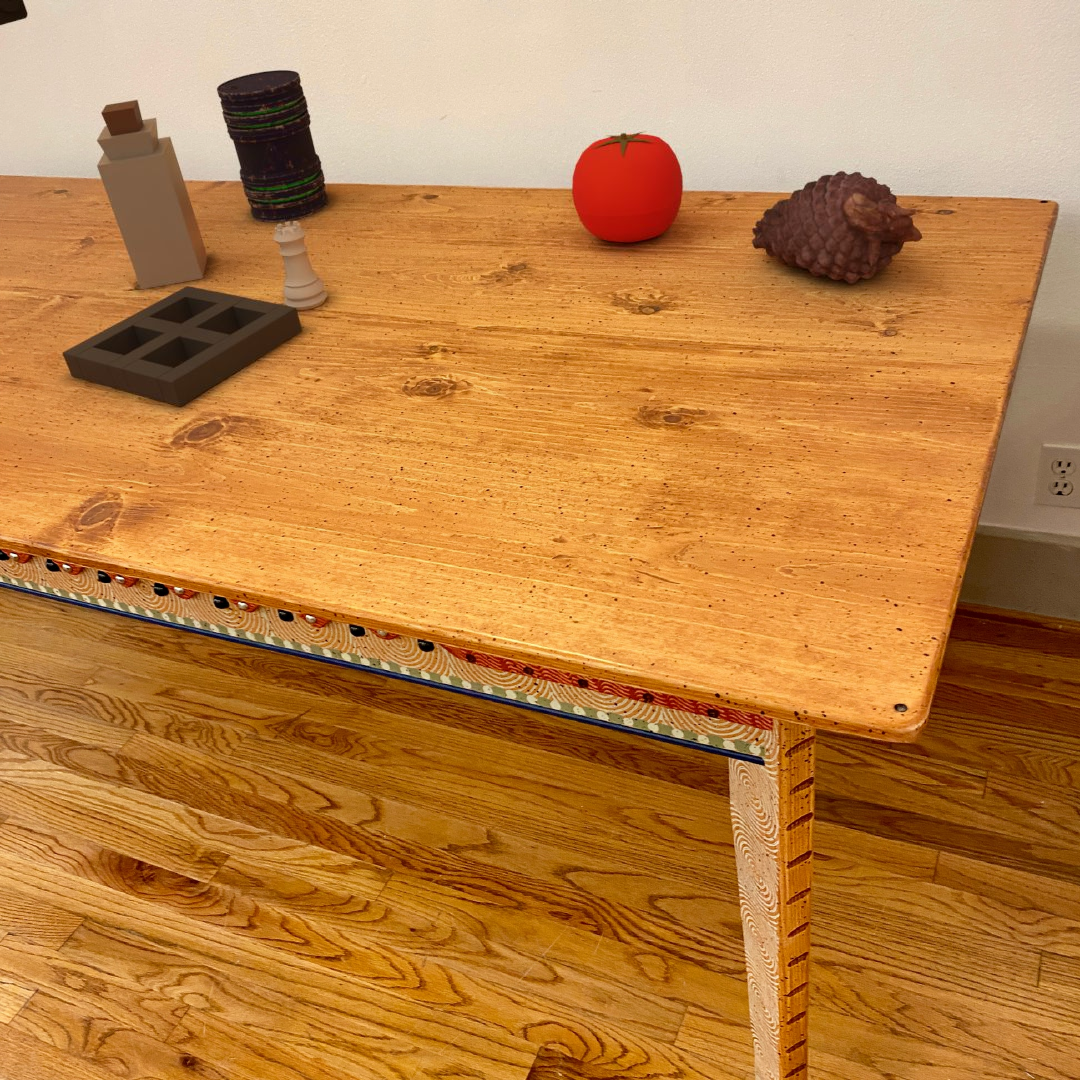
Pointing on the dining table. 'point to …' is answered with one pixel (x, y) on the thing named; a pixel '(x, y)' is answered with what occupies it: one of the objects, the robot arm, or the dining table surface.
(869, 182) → the pine cone
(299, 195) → the dark purple cylinder
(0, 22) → the robot arm
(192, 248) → the perfume bottle
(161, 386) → the holder
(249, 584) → the dining table surface
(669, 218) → the tomato
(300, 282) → the rook chess piece
